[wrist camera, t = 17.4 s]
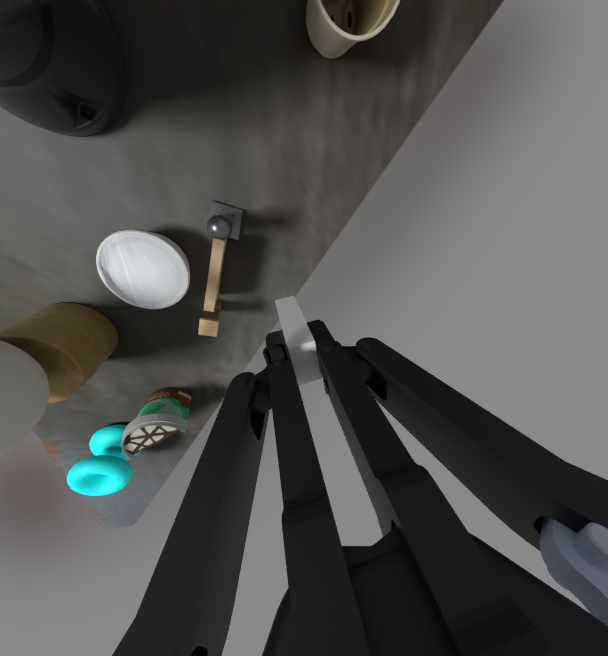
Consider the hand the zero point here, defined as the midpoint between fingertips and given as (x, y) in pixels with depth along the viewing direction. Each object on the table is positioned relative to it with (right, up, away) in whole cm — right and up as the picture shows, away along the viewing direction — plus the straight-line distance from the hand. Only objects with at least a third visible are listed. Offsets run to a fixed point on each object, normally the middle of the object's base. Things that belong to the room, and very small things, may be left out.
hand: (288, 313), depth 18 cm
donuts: (-40, -25, +34) cm, 58 cm away
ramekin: (-22, +9, +19) cm, 30 cm away
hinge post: (-11, +15, +17) cm, 26 cm away
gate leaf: (-13, +9, +19) cm, 25 cm away
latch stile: (-15, +3, +23) cm, 28 cm away
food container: (-29, -15, +31) cm, 45 cm away
